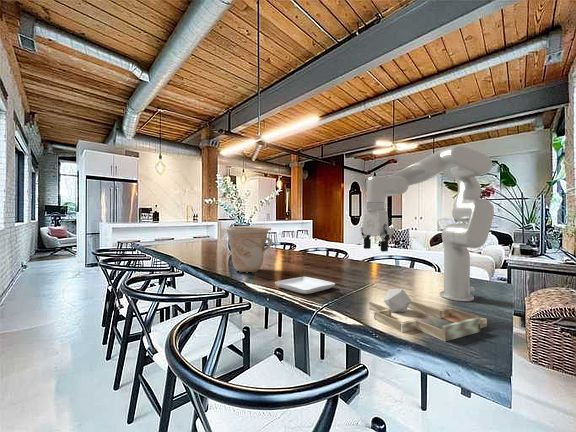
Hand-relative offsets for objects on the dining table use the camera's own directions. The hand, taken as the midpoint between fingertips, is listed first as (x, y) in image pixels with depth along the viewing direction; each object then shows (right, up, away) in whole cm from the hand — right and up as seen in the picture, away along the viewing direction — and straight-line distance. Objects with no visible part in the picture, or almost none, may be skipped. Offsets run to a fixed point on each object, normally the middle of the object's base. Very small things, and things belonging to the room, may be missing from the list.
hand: (375, 249), depth 114 cm
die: (+5, -21, -10) cm, 24 cm away
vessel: (-60, -21, +62) cm, 89 cm away
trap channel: (+9, -21, -18) cm, 29 cm away
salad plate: (-27, -21, +21) cm, 40 cm away
